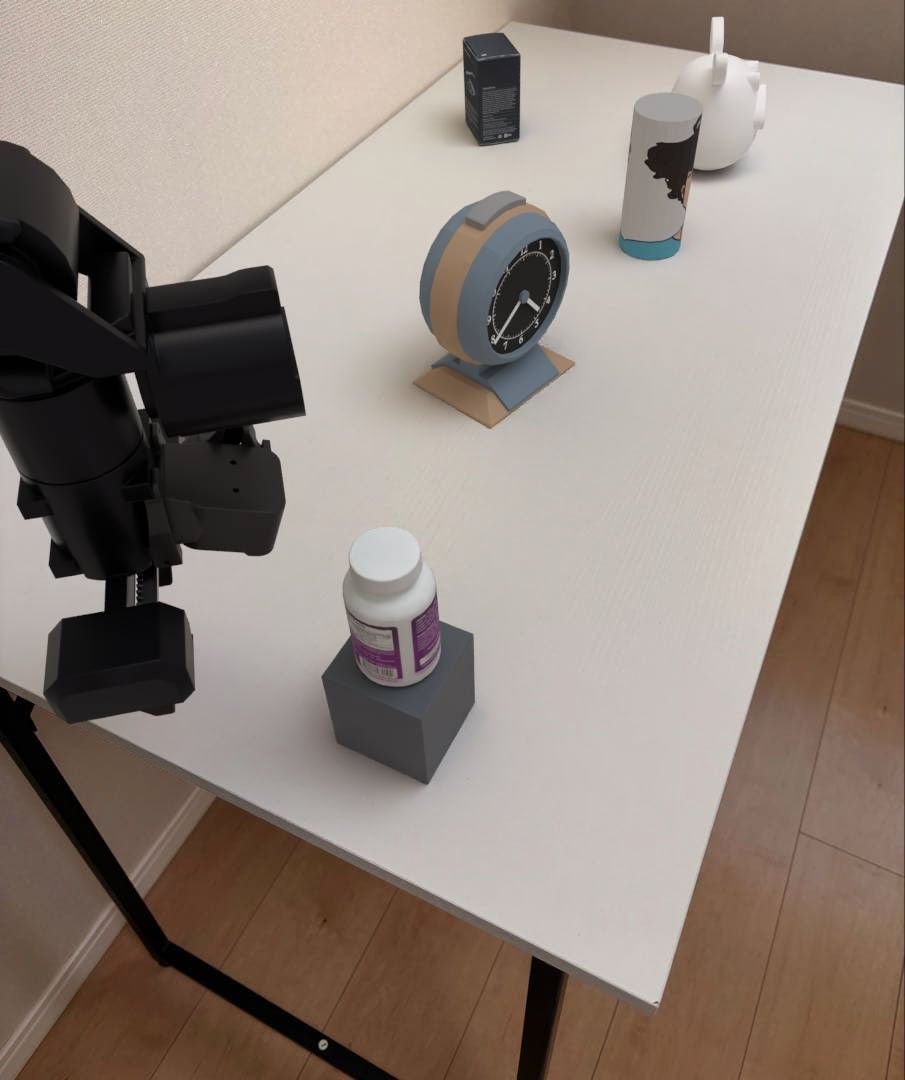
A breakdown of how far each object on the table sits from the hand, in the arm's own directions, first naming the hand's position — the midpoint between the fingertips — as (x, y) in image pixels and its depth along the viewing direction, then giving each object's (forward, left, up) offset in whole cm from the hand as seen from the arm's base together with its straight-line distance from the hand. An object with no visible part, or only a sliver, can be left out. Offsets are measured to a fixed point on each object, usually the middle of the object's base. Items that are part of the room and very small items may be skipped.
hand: (164, 644), depth 54 cm
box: (-1, +94, -13) cm, 95 cm away
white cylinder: (+22, +70, -13) cm, 74 cm away
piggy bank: (+27, +90, -13) cm, 94 cm away
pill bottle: (+12, +5, -5) cm, 14 cm away
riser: (+12, +5, -12) cm, 18 cm away
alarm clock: (+10, +44, -13) cm, 47 cm away
